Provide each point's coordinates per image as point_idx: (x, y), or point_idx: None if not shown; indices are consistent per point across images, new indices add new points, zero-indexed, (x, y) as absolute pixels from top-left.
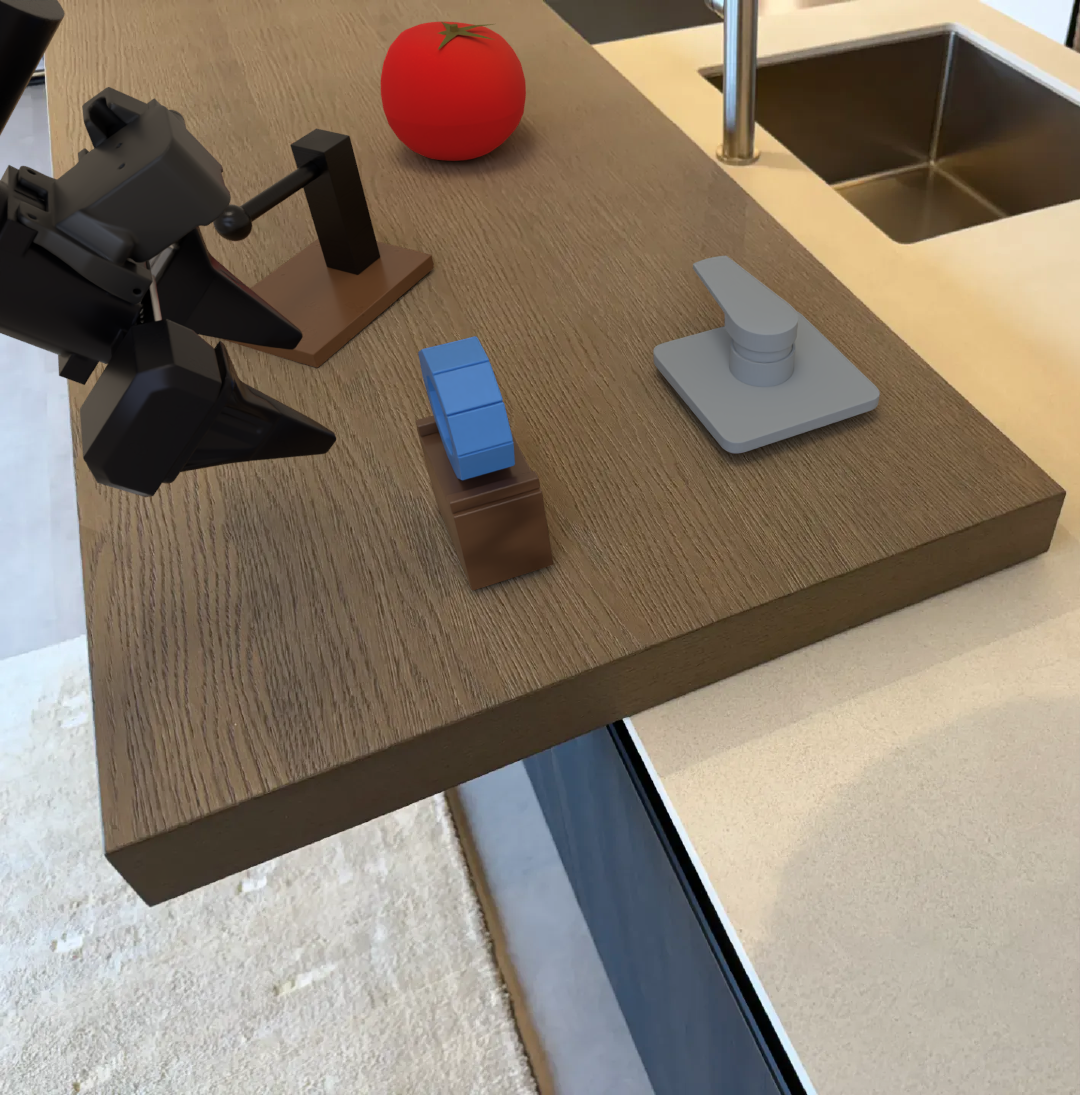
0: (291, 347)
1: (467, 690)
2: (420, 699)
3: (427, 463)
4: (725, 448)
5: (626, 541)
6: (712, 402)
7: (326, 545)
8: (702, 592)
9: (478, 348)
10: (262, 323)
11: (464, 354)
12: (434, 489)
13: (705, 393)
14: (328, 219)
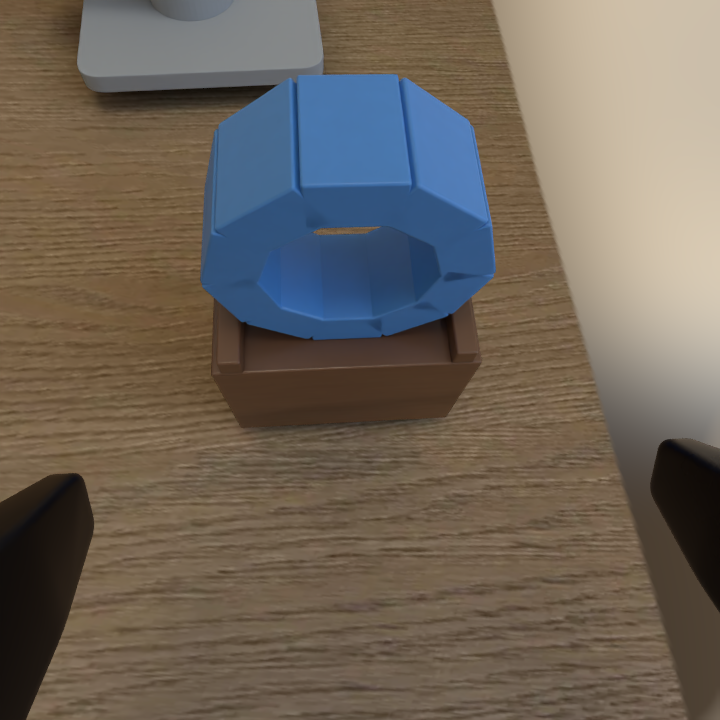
0: (91, 528)
1: (588, 464)
2: (591, 525)
3: (259, 393)
4: None
5: None
6: (234, 55)
7: (243, 618)
8: (504, 187)
9: (348, 81)
10: (11, 601)
11: (361, 109)
12: (268, 411)
13: (212, 55)
14: None
